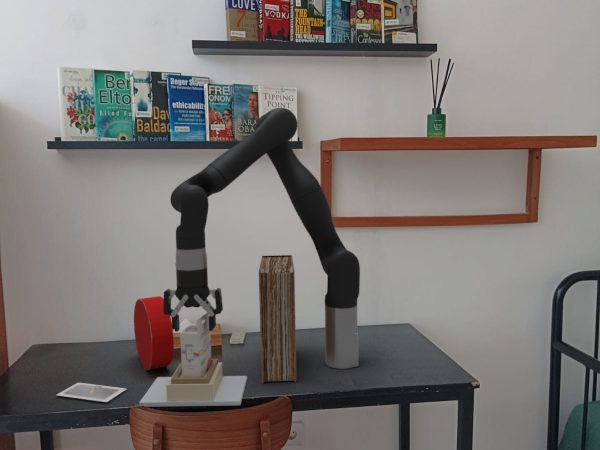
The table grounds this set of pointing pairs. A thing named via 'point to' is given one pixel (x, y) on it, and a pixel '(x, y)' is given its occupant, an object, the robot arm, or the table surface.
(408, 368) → the table surface
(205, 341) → the ink cartridge box
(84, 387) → the touchpad
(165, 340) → the toy clock
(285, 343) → the book
